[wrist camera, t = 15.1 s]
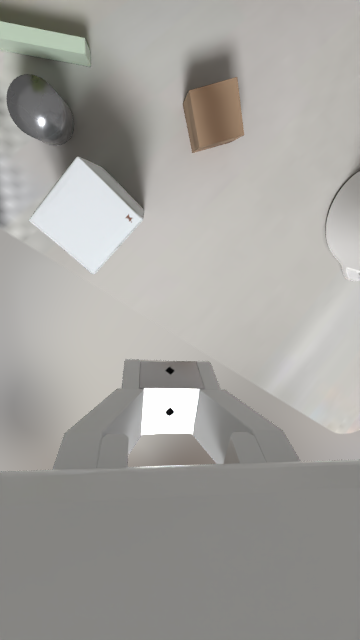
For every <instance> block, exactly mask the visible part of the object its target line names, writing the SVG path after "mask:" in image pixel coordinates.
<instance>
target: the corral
mask: <svg viewBox="0 0 360 640" xmlns="http://www.w3.org/2000/svg"><path fill="white" fill-rule="evenodd" d="M0 50H2V51H8V52H13V53H19V54H24V55H29V56H35V57H40V58H46V59H51V60H56V61H62V62H67V63H73V64H78V65H83V66H89V67H91V58H90V50H89V47H88V45H87V42H86V40H85V38H82V37H77V36H72V35H67V34H62V33H57V32H52V31H47V30H42V29H37V28H32V27H27V26H22V25H17V24H12V23H7V22H2V21H0Z"/></svg>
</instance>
